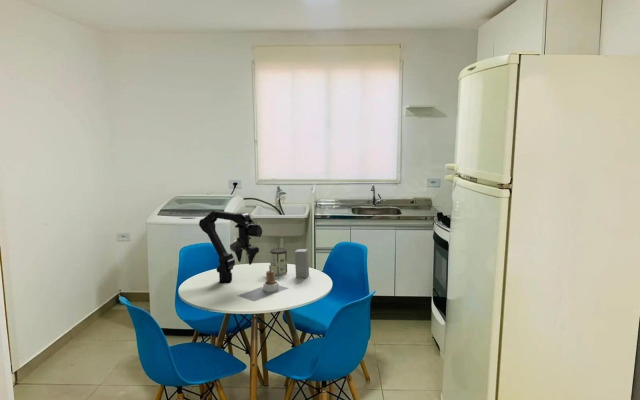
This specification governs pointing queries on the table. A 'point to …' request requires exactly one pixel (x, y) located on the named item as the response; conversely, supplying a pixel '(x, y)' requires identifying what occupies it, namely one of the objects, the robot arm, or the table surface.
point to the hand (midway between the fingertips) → (244, 263)
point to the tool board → (263, 291)
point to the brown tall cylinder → (270, 276)
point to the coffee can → (278, 261)
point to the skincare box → (301, 263)
